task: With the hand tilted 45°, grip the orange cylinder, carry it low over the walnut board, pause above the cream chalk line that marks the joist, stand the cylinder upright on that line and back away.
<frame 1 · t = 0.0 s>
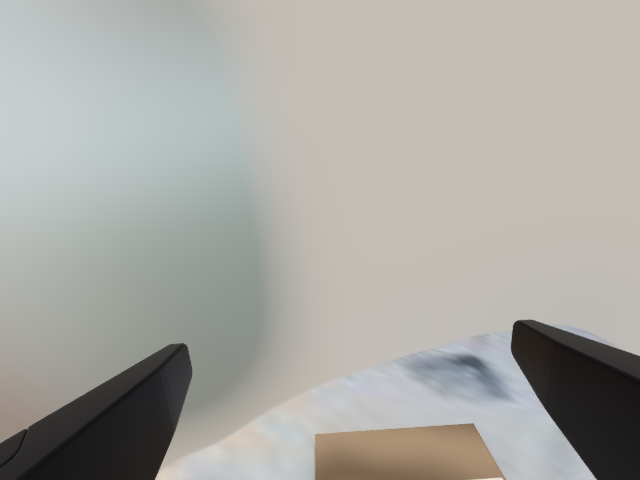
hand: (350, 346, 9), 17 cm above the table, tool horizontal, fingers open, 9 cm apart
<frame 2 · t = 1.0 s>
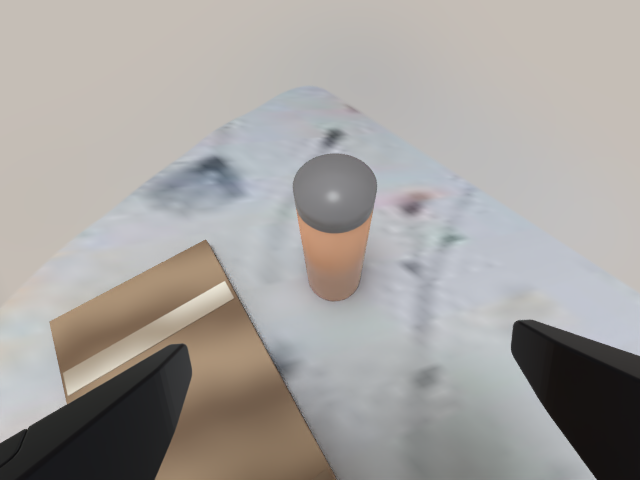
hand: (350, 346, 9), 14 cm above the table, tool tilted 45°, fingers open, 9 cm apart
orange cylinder: (334, 276, 25), on the table
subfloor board: (197, 433, 20), on the table
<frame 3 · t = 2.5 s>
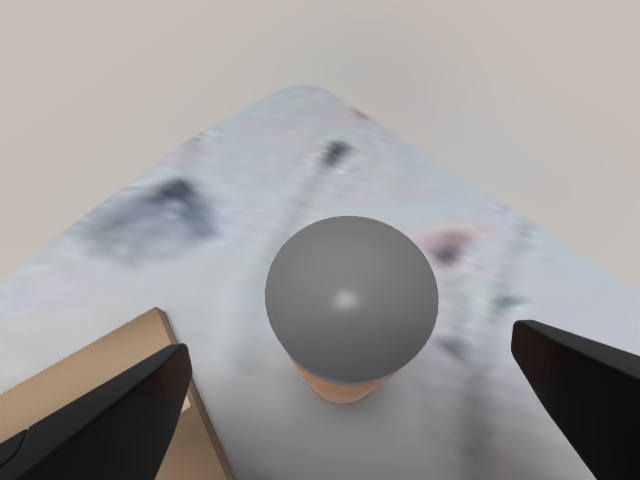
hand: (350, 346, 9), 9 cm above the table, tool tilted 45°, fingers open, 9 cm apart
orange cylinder: (340, 362, 17), on the table
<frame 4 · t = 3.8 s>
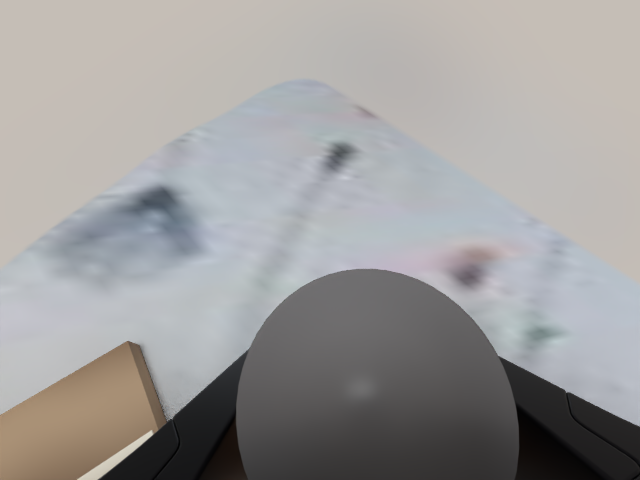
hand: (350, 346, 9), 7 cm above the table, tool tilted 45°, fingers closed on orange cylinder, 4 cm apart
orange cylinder: (346, 408, 14), on the table, touching gripper
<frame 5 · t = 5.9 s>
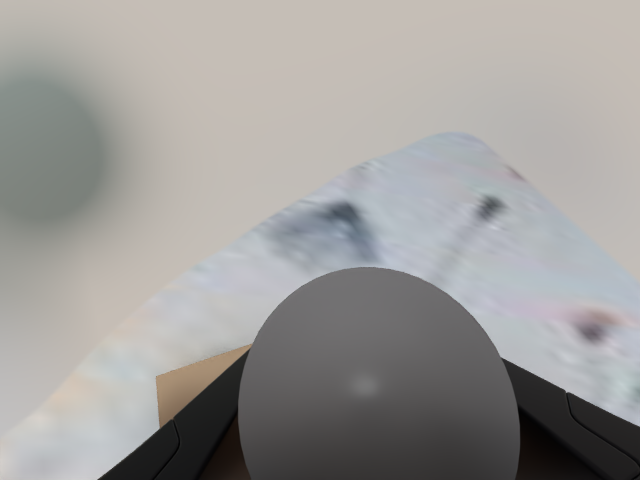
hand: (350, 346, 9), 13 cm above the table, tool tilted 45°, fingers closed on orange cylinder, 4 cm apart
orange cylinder: (347, 408, 14), point 6 cm above the table, touching gripper
when the fingers open (9 cm above the table, at t = 8.3 s): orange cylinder stays where it is, resting on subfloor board.
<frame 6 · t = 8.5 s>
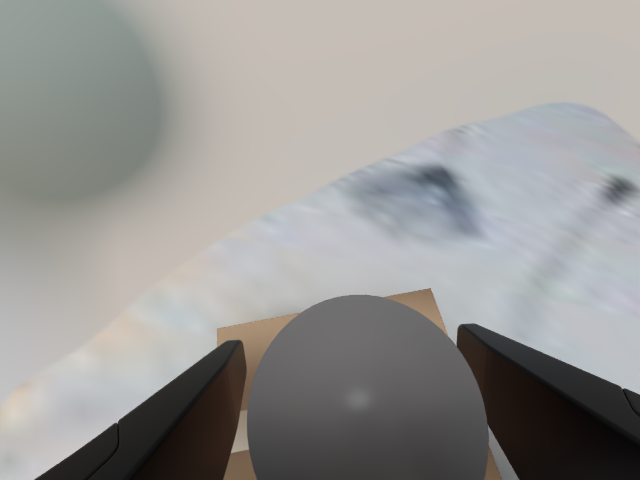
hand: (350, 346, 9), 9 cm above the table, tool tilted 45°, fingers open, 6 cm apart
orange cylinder: (345, 409, 15), point 1 cm above the table, touching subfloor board
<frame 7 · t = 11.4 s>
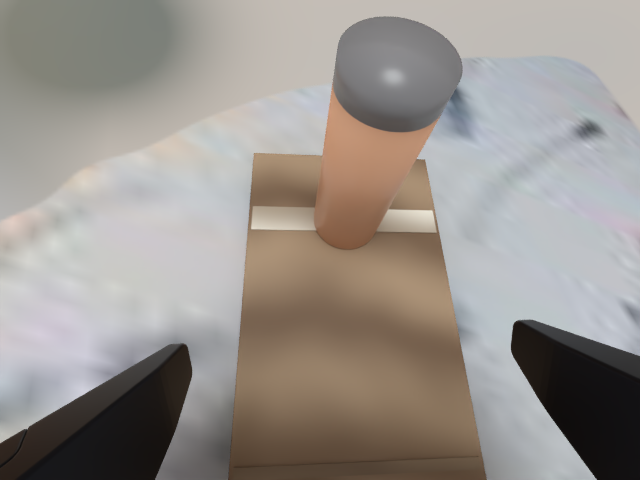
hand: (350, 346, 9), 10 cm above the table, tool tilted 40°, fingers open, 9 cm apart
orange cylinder: (345, 220, 20), point 1 cm above the table, touching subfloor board
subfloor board: (349, 337, 18), on the table
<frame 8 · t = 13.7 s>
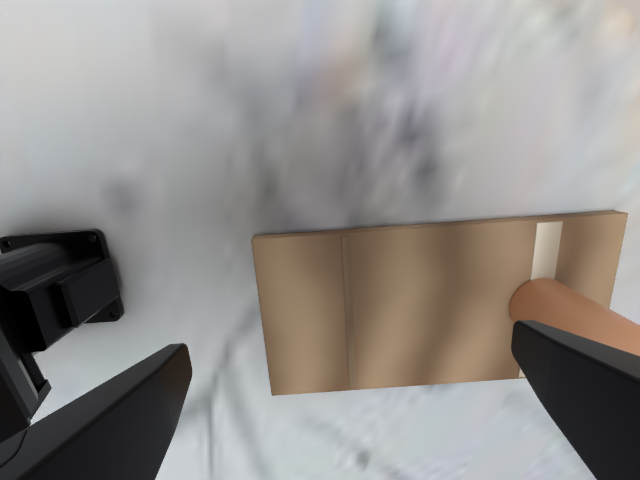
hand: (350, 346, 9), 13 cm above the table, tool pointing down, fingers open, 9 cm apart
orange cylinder: (538, 304, 22), point 1 cm above the table, touching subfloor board
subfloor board: (431, 304, 23), on the table
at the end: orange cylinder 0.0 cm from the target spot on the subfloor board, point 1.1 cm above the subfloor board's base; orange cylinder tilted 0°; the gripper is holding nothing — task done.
